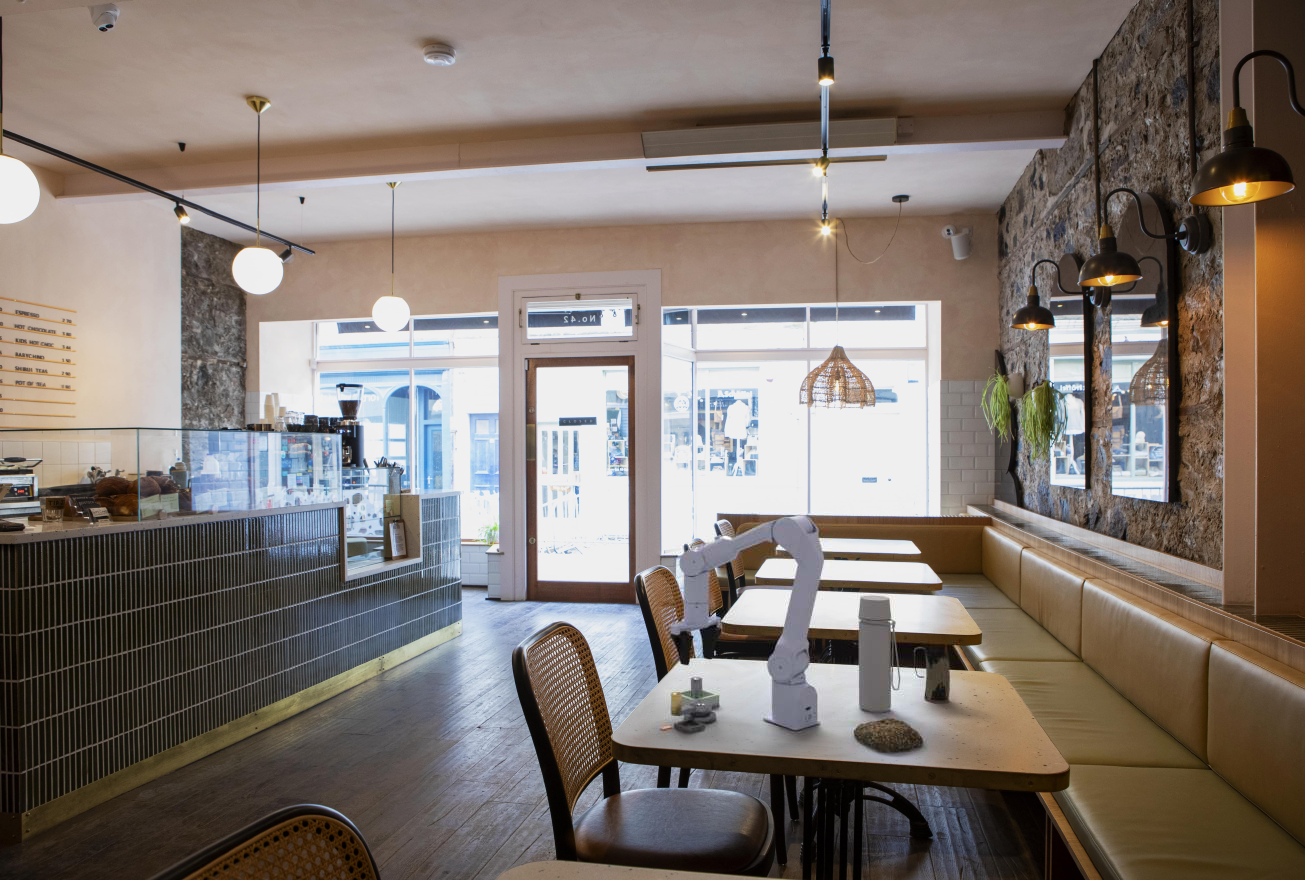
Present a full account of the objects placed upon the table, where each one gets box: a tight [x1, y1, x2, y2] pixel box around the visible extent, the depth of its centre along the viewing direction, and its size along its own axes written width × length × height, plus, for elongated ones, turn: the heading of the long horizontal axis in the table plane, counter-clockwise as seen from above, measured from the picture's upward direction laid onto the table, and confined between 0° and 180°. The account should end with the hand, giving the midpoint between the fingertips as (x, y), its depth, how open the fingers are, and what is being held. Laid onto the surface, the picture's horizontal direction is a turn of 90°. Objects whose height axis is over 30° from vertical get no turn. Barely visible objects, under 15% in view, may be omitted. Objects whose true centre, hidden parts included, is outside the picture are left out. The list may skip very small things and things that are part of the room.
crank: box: [670, 691, 712, 717], centre depth 181 cm, size 11×5×6 cm, turn 131°
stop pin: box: [690, 676, 703, 699], centre depth 193 cm, size 3×3×6 cm
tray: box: [679, 688, 720, 709], centre depth 193 cm, size 7×7×2 cm
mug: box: [913, 646, 951, 704], centre depth 197 cm, size 8×6×12 cm
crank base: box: [659, 710, 717, 735], centre depth 180 cm, size 9×14×1 cm, turn 128°
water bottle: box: [857, 594, 901, 714], centre depth 190 cm, size 9×8×25 cm
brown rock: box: [853, 717, 924, 753], centre depth 169 cm, size 13×12×5 cm
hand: (696, 661), depth 193 cm, fingers open, 7 cm apart
